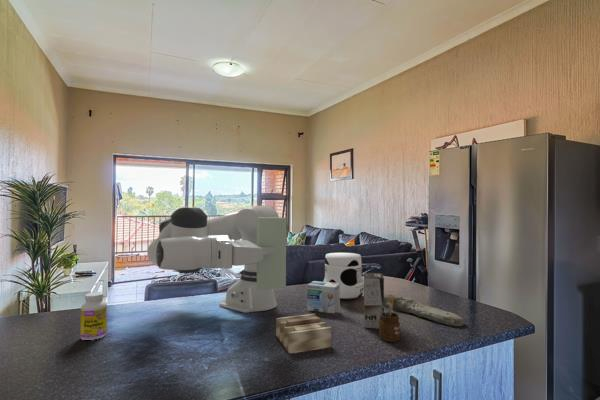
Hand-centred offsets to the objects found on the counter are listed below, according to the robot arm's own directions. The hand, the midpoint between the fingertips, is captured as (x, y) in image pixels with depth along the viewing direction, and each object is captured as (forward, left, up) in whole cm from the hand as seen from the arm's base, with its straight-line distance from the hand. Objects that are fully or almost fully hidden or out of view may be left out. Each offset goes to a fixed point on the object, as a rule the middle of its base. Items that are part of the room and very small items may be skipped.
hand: (271, 249), depth 95 cm
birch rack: (+8, +3, -27) cm, 28 cm away
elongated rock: (+34, +47, -27) cm, 64 cm away
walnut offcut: (+8, +3, -25) cm, 27 cm away
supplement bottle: (-51, -18, -27) cm, 60 cm away
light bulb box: (+3, +32, -27) cm, 42 cm away
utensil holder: (+29, +19, -27) cm, 44 cm away
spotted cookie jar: (+3, +55, -27) cm, 61 cm away
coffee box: (+22, +29, -27) cm, 46 cm away
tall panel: (0, 0, -11) cm, 11 cm away
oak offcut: (+11, 0, -25) cm, 28 cm away
